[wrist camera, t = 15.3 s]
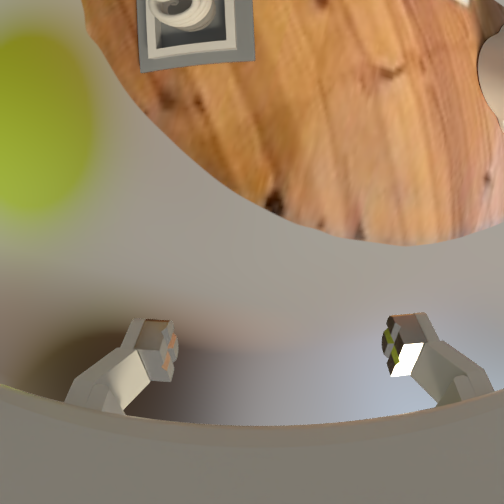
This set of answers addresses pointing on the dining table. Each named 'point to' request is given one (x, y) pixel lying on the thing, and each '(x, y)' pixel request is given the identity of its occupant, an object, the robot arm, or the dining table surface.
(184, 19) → the light bulb
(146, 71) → the bulb socket
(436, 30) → the dining table surface
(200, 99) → the dining table surface
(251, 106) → the dining table surface
